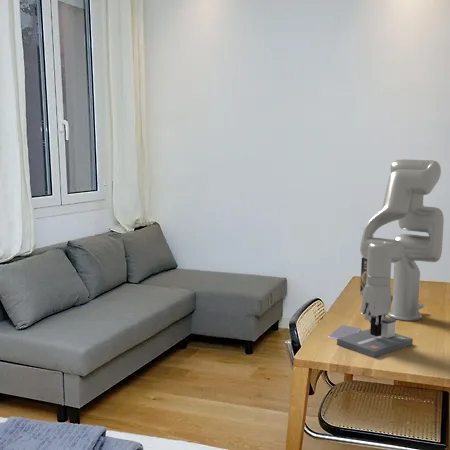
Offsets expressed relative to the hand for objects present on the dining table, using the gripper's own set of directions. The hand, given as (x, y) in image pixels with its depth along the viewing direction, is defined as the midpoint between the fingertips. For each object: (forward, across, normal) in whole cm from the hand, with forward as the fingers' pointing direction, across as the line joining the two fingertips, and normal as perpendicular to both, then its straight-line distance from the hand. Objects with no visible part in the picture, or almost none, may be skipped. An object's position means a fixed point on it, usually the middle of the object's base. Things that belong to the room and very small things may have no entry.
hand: (375, 334), depth 195 cm
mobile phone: (+4, -1, -13) cm, 14 cm away
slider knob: (+1, -5, 0) cm, 5 cm away
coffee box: (+4, -50, -40) cm, 64 cm away
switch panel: (+3, 0, 0) cm, 3 cm away
